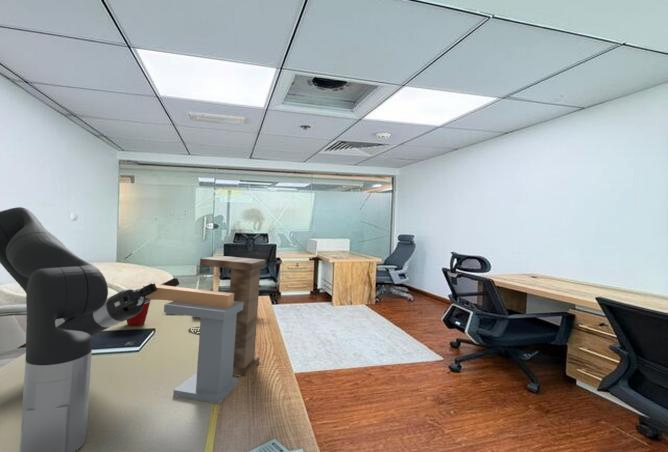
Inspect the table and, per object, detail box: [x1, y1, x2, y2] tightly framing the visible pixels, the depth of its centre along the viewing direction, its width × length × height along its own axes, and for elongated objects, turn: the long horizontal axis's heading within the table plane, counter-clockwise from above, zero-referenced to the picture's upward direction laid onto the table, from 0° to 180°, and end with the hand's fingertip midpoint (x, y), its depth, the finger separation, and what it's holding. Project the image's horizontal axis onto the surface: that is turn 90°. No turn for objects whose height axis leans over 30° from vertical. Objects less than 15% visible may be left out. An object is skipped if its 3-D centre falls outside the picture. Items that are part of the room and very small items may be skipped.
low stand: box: [163, 301, 244, 405], centre depth 81 cm, size 16×10×22 cm, turn 80°
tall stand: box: [199, 255, 267, 377], centre depth 95 cm, size 16×10×32 cm, turn 80°
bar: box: [142, 283, 234, 308], centre depth 82 cm, size 24×3×3 cm, turn 80°
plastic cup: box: [126, 301, 151, 327], centre depth 125 cm, size 11×11×12 cm
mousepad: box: [187, 327, 200, 335], centre depth 122 cm, size 9×8×1 cm
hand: (166, 283), depth 83 cm, fingers open, 8 cm apart
